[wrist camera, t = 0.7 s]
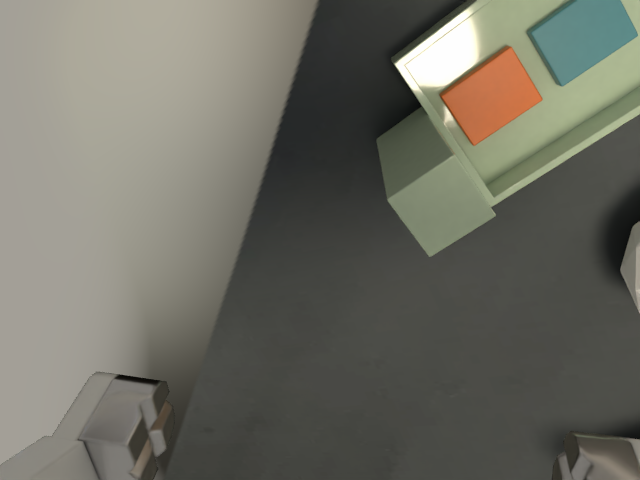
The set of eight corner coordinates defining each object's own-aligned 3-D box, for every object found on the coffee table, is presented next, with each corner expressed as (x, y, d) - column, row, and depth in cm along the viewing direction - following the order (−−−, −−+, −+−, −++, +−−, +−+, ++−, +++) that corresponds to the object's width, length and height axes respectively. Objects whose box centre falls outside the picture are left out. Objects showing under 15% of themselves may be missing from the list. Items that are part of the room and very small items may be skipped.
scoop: (435, 221, 31) (469, 311, 22) (343, 94, 29) (339, 136, 20) (671, 70, 27) (830, 104, 18) (589, -94, 25) (727, -149, 16)
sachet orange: (470, 143, 29) (473, 147, 28) (438, 94, 28) (440, 96, 27) (538, 97, 28) (543, 99, 27) (507, 44, 27) (511, 46, 26)
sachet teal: (556, 85, 28) (562, 87, 27) (525, 31, 27) (530, 32, 26) (631, 34, 26) (639, 35, 26) (601, -23, 26) (609, -24, 25)
